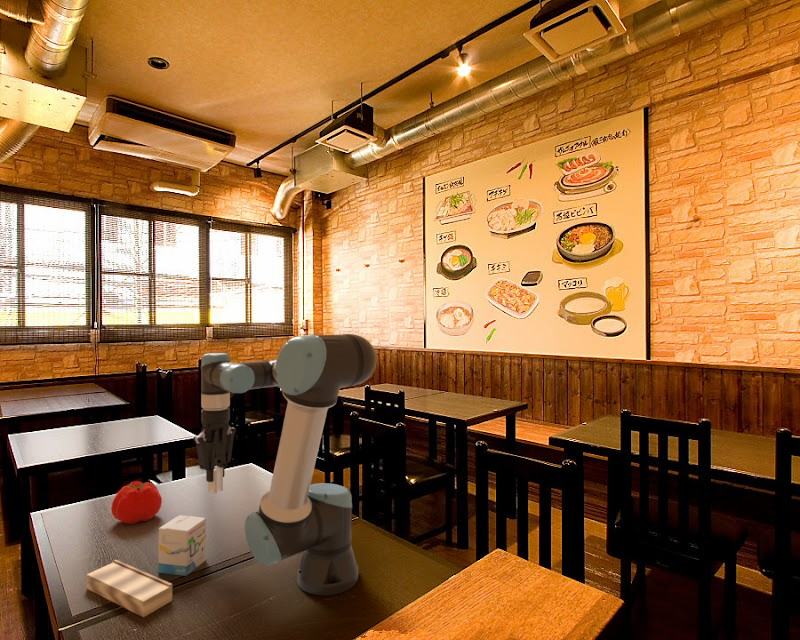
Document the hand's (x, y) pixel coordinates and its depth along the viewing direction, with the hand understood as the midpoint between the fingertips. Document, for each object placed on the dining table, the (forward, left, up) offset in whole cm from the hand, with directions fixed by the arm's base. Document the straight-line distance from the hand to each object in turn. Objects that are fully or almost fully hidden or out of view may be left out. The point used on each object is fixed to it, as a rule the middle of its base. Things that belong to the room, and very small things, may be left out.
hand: (215, 490), depth 134 cm
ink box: (0, +10, -17) cm, 20 cm away
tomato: (+37, 0, -17) cm, 41 cm away
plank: (0, +25, -16) cm, 30 cm away
